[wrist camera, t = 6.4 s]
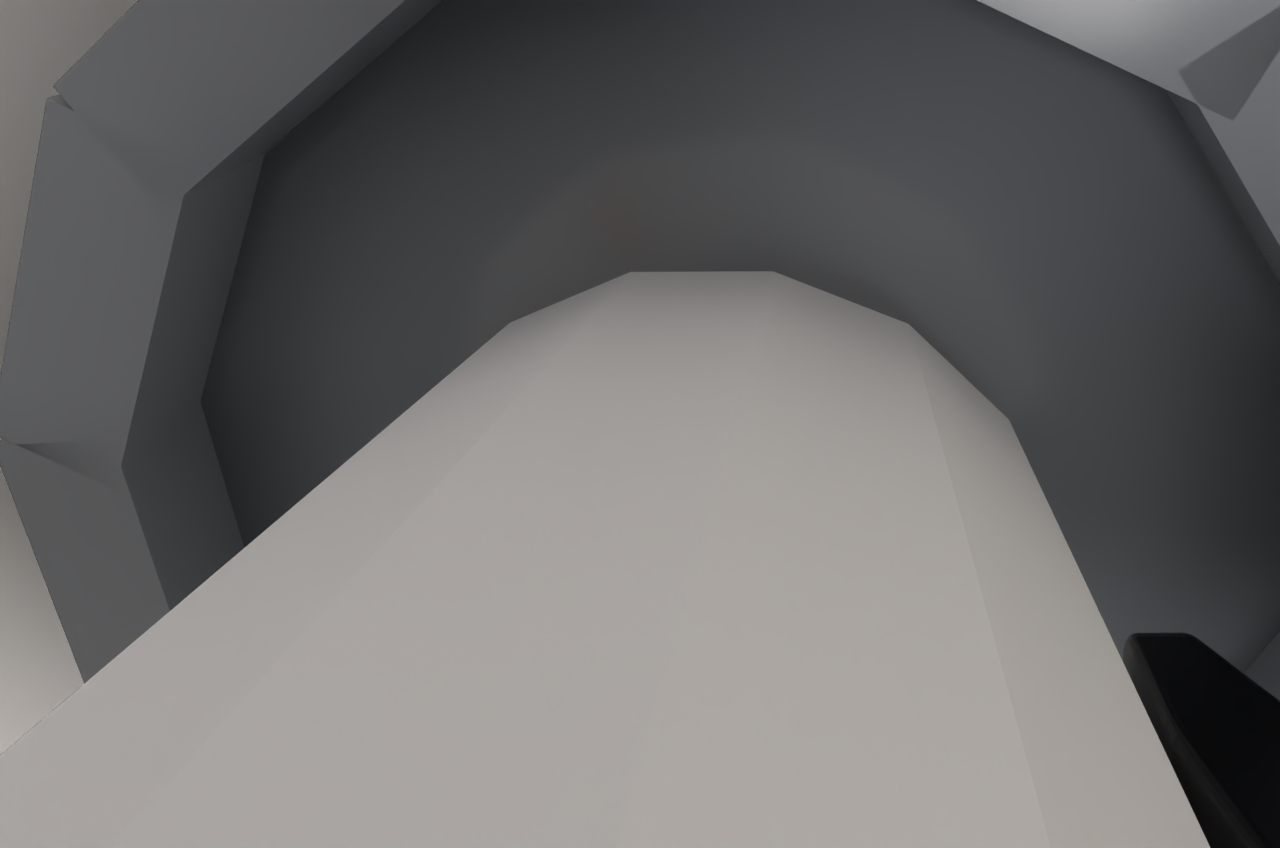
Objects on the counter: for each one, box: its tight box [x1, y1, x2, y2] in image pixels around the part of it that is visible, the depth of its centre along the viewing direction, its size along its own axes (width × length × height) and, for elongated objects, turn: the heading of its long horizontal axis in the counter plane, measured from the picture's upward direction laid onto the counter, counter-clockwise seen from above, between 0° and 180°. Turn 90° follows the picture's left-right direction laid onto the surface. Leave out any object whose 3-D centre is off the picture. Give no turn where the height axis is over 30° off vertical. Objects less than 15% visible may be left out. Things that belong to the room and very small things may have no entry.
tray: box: [0, 0, 1280, 700], centre depth 11 cm, size 12×12×2 cm
